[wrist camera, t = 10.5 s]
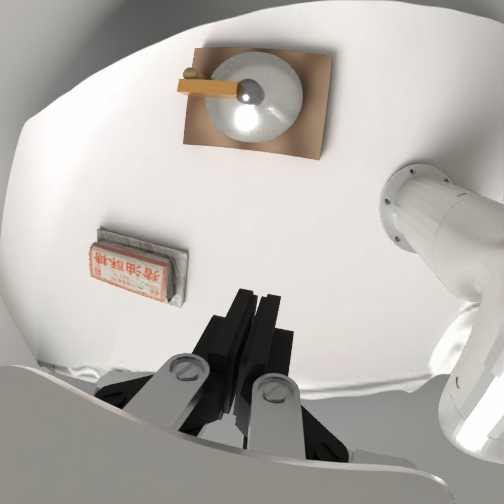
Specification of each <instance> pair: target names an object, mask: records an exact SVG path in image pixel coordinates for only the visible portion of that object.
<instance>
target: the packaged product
mask: <svg viewBox="0 0 504 504" xmlns="http://www.w3.org/2000/svg"><path fill="white" fill-rule="evenodd" d="M97 241H98V242H95V243H93V244H92V245H91V247H90V251H89V261H90V264H89V265H90V276H91V277H94V278H96V279H98V280H101V281H103V282H107V283H109V284H111V285H115V286H118V287H120V288H123V289H126V290H128V291H131V292H134V293H137V294H140V295H142V296H146V297H149V298H153V299H155V300H157V301H160V302H164V303H167V304H170V305H174V306H177V307H179V308H181V307H182V305H183V302H184V291H185V282H186V274H187V265H188V253H186V252H182V251H179V250H175V249H171V248H167V247H163V246H159V245H155V244H152V243H149V242H145V241H141V240H139V239H136V238H132V237H128V236H122V235H119V234H116V233H113V232H109V231H105V230H100V229H98V230H97Z"/></svg>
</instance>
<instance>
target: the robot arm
mask: <svg viewBox="0 0 504 504" xmlns="http://www.w3.org/2000/svg"><path fill="white" fill-rule="evenodd" d="M411 169H412V173H410V170H411ZM444 179H445V182H444ZM385 199H388V201H387V202H385ZM380 218H381V222H382V226H383V228H384V230H385V232H386V234H387V235H388V237H389V238H390V239H391V241H392V242H393V243H394V244H395V245H397V246H398V247H399V248H401V249H403V250H405V251H407V252H411V253H418V254H419V256H420V257H421V258H422V259H423V260H424V261H425V263H426V264H427V265H428V266H429V267H430V269H431V270H432V271H433V272H434V273H435V275H436V276H437V277H438V278H439V280H440V281H441V282H442V283H443V284H444V285H445V287H446V288H447V289H448V290H449V291H450V292H451V293H452V294H453V295H455V296H456V297H457V298H459V299H461V300H464V301H467V302H481V303H480V308H479V311H478V314H477V317H476V319H475V322H474V324H473V327H472V330H471V334H470V336H469V338H468V341H467V343H466V345H465V347H464V349H463V352H462V354H461V356H460V358H459V360H458V362H457V364H456V366H455V368H454V370H453V372H452V374H451V376H450V378H449V380H448V382H447V384H446V386H445V388H444V390H443V393H442V396H441V399H440V403H439V413H438V414H439V421H440V425H441V428H442V430H443V432H444V433H445V435H446V437H447V438H448V439H449V441H450V442H451V443H453V445H455V446H456V447H457V448H458V449H460V450H461V451H463V452H465V453H467V454H468V455H471V456H473V457H476V458H479V459H482V460H486V461H490V462H495V463H500V464H504V204H502V203H499V202H497V201H494V200H492V199H490V198H487V197H485V196H482V195H480V194H477V193H474V192H472V191H469V190H467V189H464V188H461V187H459V186H456V185H454V184H453V183H452V181H451V179H450V178H449V177H448V176H447V175H446V174H445V173H444V172H443V171H441V170H440V169H438V168H436V167H434V166H431V165H427V164H413V165H409V166H406V167H404V168H402V169H401V170H399V171H398V172H396V173H395V174H394V175H393V176H392V177H391V178H390V180H389V181H388V183H387V184H386V186H385V188H384V190H383V193H382V197H381V201H380ZM396 236H397V238H396V239H395V237H396ZM257 299H258V296H257V295H253V291H251V290H246V289H241V288H240V289H239V291H238V293H237V295H236V297H235V299H234V301H233V303H232V305H231V307H230V309H229V311H228V313H227V315H226V317H221V316H217V315H213V317H212V318H211V320H210V322H209V323H208V325H207V327H206V329H205V330H204V332H203V334H202V336H201V338H200V339H199V341H198V343H197V345H196V347H195V348H194V350H193V352H192V354H188V353H183V354H178V355H175V356H173V357H171V358H170V359H169V360H167V362H166V363H165V364H164V365H163V366H162V367H161V368H160V369H159V370H158V371H157V372H156V374H154V375H150V376H146V377H142V378H138V379H134V380H129V381H125V382H120V383H116V384H111V385H108V386H105V387H103V388H100V387H99V386H98V384H95V383H91V382H87V381H83V380H79V379H76V378H72V377H68V376H65V375H62V374H58V373H52V372H51V373H45V372H43V371H40V370H37V369H34V368H30V367H26V366H21V365H15V364H6V365H1V366H0V504H456V503H455V500H454V497H453V494H452V492H451V490H450V488H449V487H448V485H447V484H446V483H445V482H444V481H443V480H441V479H440V478H438V477H436V476H434V475H432V474H430V473H426V472H423V471H419V470H417V468H416V466H415V465H414V464H413V463H412V462H411V461H409V460H406V459H403V458H397V457H391V456H386V455H381V454H377V453H372V452H368V451H363V450H359V449H355V451H351V450H347V448H346V447H345V446H344V445H343V443H342V442H340V441H339V440H338V439H337V438H336V437H335V436H334V435H333V434H332V433H330V432H329V431H328V430H327V429H326V428H325V427H324V426H323V425H322V424H321V423H320V422H319V421H318V420H317V419H316V418H314V417H313V416H312V415H311V414H310V413H309V412H308V411H307V410H306V409H305V408H304V407H303V406H302V405H301V402H300V392H299V388H298V385H297V384H296V383H295V381H293V380H292V379H291V378H289V377H288V372H289V365H290V358H291V350H292V342H293V334H294V331H289V330H284V329H278V328H275V325H276V320H277V315H278V310H279V305H280V299H281V296H276V295H271V294H268V295H267V297H263V296H262V297H261V300H260V303H259V306H258V309H257V312H256V305H257ZM255 312H256V315H255ZM235 394H236V397H235ZM234 397H235V404H234V412H233V415H235V416H237V417H236V423H235V425H236V426H237V427H238V428H239V430H240V431H241V432H242V433H243V438H242V449H241V448H237V447H232V446H228V445H224V444H220V443H216V442H213V441H208V440H205V439H201V437H202V436H203V434H204V433H205V431H206V429H207V427H208V423H211V422H214V421H216V420H221V419H222V416H223V413H227V414H229V412H230V409H231V406H232V403H233V400H234Z"/></svg>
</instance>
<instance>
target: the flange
mask: <svg viewBox="0 0 504 504" xmlns="http://www.w3.org/2000/svg"><path fill="white" fill-rule="evenodd" d="M177 92H179V93H182V94H185V95H188V96H196V97H205V103H206V109H207V112H208V115H209V117H210V119H211V120H212V122H213V123H214V125H215V126H216V127H217V128H218V129H219V130H220V131H221V132H222V133H224V134H225V135H227V136H229V137H231V138H233V139H236V140H239V141H243V142H264V141H268V140H271V139H274V138H276V137H278V136H280V135H282V134H283V133H284V132H286V131H287V130H288V129H289V128H290V127H291V126H292V125H293V124H294V122H295V121H296V119H297V118H298V116H299V113H300V111H301V107H302V102H303V92H302V86H301V83H300V80H299V78H298V76H297V74H296V72H295V71H294V70H293V68H292V67H291V66H290V65H289V64H288V63H286V62H285V61H284V60H282V59H281V58H279V57H277V56H275V55H272V54H269V53H265V52H246V53H241V54H238V55H235V56H233V57H231V58H229V59H228V60H226V61H225V62H223V63H222V64H221V65H220V66H219V67H218V68H217V69H216V70H215V71H214V73H213V74H212V76H211V78H210V80H200V79H179V84H178V89H177Z"/></svg>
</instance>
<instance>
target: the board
mask: <svg viewBox="0 0 504 504" xmlns="http://www.w3.org/2000/svg"><path fill="white" fill-rule="evenodd" d="M246 52H265V53H269V54H272V55H275V56H277V57H279V58H281V59H282V60H284V61H285V62H286V63H288V64H289V65H290V66H291V67H292V68H293V70H294V71H295V72H296V74H297V76H298V78H299V80H300V83H301V86H302V92H303V102H302V107H301V111H300V113H299V116H298V118H297V119H296V121H295V122H294V124H293V125H292V126H291V127H290V128H289V129H288V130H287V131H286V132H284V133H283V134H282V135H280V136H278V137H276V138H274V139H271V140H268V141H264V142H243V141H239V140H236V139H233V138H231V137H229V136H227V135H225V134H224V133H222V132H221V131H220V130H219V129H218V128H217V127H216V126H215V125H214V123H213V122H212V120H211V119H210V117H209V115H208V112H207V109H206V103H205V97H196V96H188V102H187V110H186V119H185V129H184V140H183V144H189V145H203V146H216V147H227V148H236V149H246V150H254V151H262V152H270V153H277V154H284V155H290V156H297V157H303V158H309V159H315V160H320V153H321V146H322V139H323V132H324V124H325V116H326V108H327V100H328V92H329V83H330V73H331V63H332V57H331V56H325V55H318V54H312V53H304V52H296V51H287V50H276V49H262V48H231V47H222V48H195V52H194V58H193V64H192V68H187V69H186V70H185V71H184V73H183V77H184V78H185V79H200V80H210V78H211V76H212V74H213V73H214V71H215V70H216V69H217V68H218V67H219V66H220V65H221V64H222V63H223V62H225V61H226V60H228V59H229V58H231V57H233V56H235V55H238V54H241V53H246Z"/></svg>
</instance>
